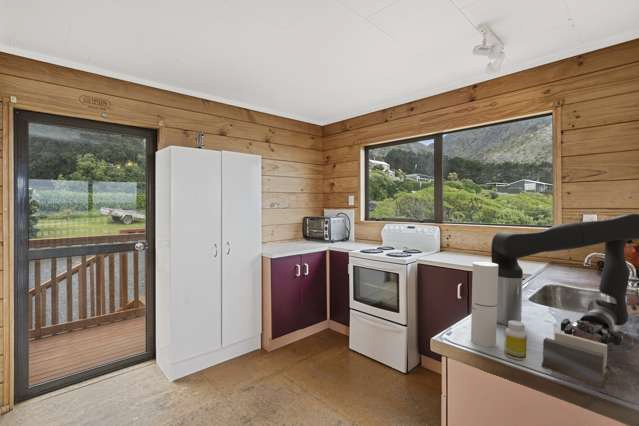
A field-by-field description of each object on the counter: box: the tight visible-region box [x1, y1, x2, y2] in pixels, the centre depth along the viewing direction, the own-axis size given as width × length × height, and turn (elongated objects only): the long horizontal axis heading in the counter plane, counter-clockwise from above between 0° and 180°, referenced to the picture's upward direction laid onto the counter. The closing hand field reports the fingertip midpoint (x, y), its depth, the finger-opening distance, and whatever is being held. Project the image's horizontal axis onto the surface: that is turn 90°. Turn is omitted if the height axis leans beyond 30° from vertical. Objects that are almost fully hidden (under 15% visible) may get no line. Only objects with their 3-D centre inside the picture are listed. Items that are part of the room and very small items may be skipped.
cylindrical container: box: [470, 261, 498, 348], centre depth 101 cm, size 7×7×25 cm
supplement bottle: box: [504, 320, 528, 361], centre depth 93 cm, size 5×5×10 cm
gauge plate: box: [554, 330, 610, 369], centre depth 88 cm, size 2×12×6 cm, turn 40°
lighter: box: [572, 319, 602, 343], centre depth 92 cm, size 8×3×10 cm, turn 5°
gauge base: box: [541, 337, 612, 388], centre depth 86 cm, size 12×12×8 cm
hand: (584, 338), depth 91 cm, fingers closed on lighter, 7 cm apart
